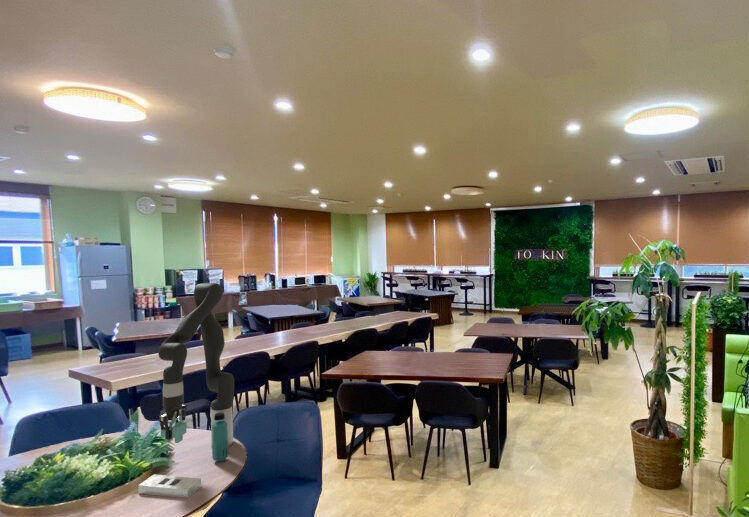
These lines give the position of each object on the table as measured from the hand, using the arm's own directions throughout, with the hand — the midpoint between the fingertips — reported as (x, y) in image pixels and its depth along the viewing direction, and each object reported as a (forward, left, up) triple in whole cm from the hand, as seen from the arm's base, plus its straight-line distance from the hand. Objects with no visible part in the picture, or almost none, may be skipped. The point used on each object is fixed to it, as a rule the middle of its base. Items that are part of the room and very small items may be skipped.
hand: (173, 436), depth 167 cm
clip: (0, 0, -2) cm, 2 cm away
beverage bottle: (-14, +12, -16) cm, 24 cm away
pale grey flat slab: (+10, +6, -16) cm, 19 cm away
